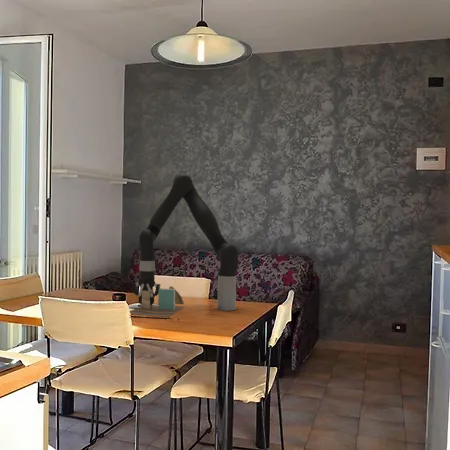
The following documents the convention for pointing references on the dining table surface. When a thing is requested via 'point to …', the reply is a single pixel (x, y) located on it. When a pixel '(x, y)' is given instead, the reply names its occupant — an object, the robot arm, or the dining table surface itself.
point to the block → (146, 299)
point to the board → (154, 312)
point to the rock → (177, 297)
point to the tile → (166, 299)
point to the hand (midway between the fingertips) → (146, 304)
